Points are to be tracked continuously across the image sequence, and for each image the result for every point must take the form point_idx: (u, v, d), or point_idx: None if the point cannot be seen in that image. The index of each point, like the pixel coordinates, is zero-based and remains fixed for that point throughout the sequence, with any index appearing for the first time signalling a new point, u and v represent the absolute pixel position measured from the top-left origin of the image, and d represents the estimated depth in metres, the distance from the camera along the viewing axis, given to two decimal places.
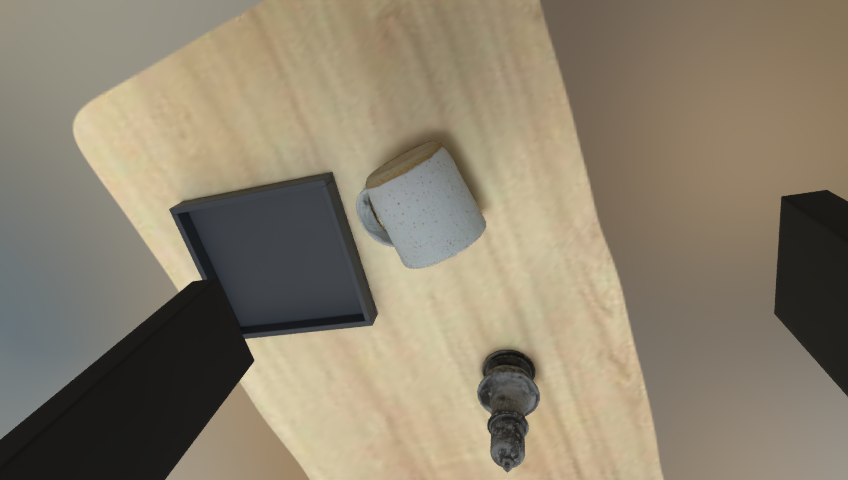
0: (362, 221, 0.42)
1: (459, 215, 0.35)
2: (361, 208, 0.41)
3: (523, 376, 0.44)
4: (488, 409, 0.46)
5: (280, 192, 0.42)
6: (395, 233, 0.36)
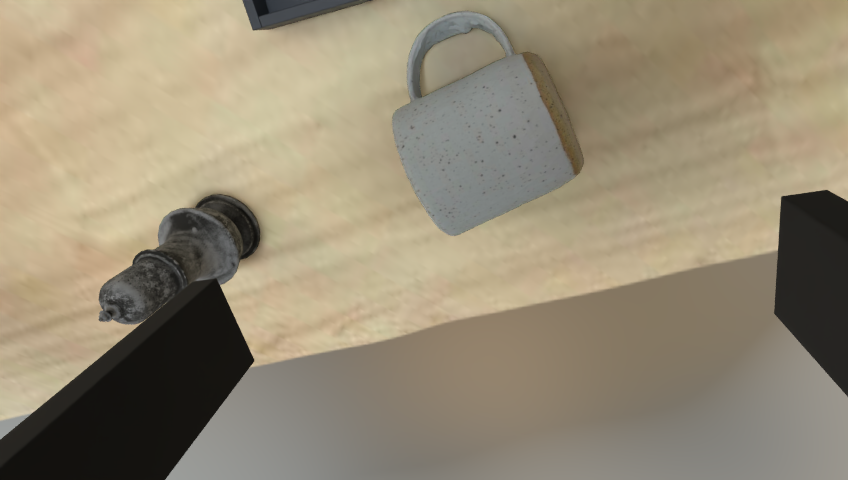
0: (443, 20, 0.25)
1: (487, 215, 0.24)
2: (466, 20, 0.25)
3: (235, 268, 0.32)
4: (164, 223, 0.31)
5: None
6: (458, 122, 0.22)
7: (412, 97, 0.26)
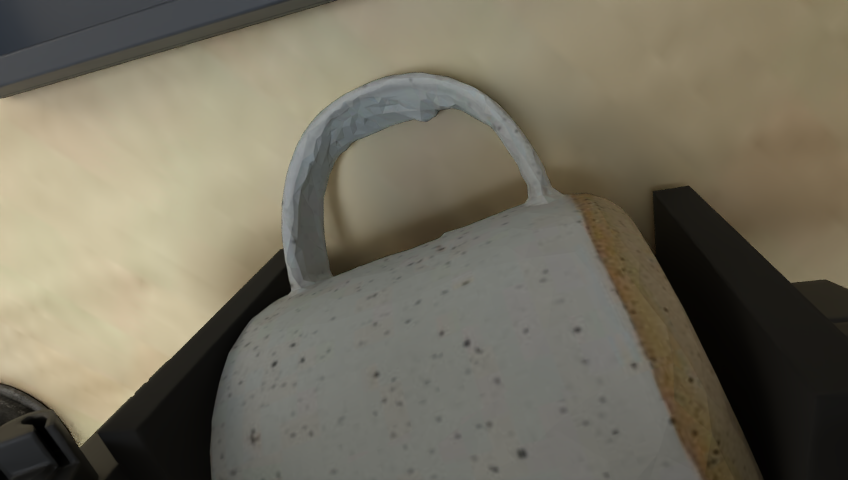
0: (365, 95, 0.10)
1: None
2: (424, 95, 0.10)
3: None
4: None
5: None
6: (383, 460, 0.07)
7: (294, 282, 0.10)
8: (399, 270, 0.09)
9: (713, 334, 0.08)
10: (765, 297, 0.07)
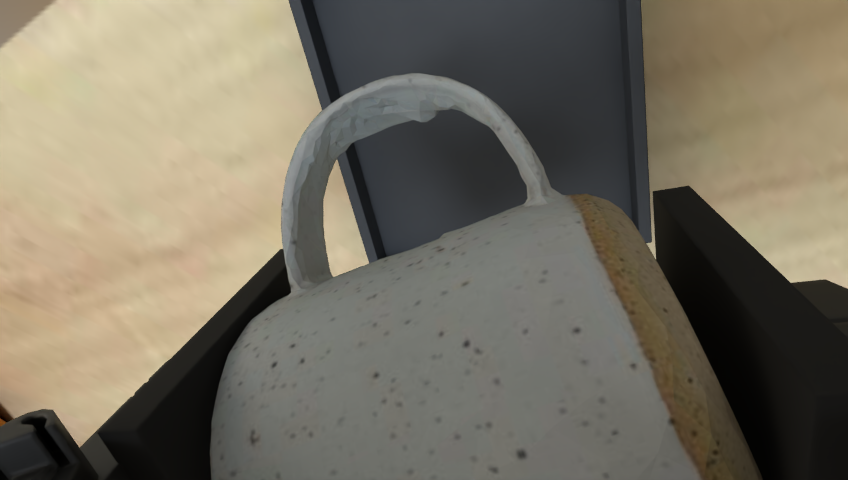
0: (365, 96, 0.10)
1: None
2: (423, 96, 0.10)
3: None
4: None
5: (638, 160, 0.22)
6: (383, 461, 0.07)
7: (294, 283, 0.10)
8: (399, 271, 0.09)
9: (713, 334, 0.08)
10: (765, 297, 0.07)
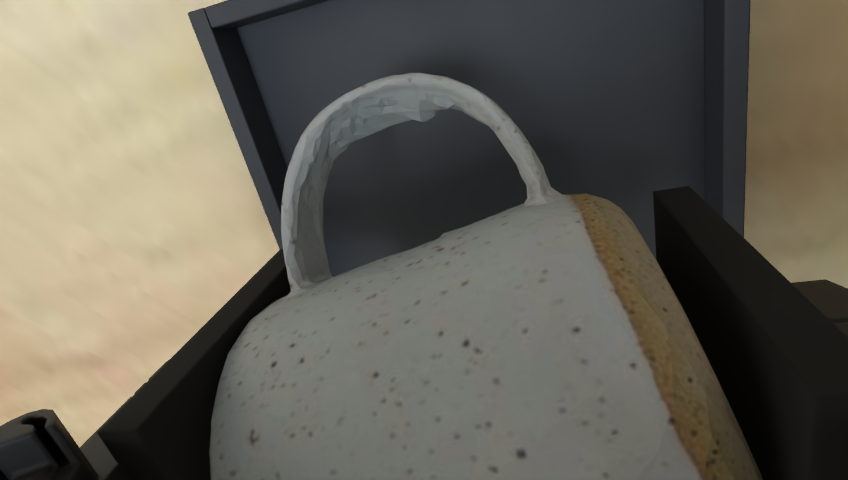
0: (365, 95, 0.10)
1: None
2: (423, 96, 0.10)
3: None
4: None
5: None
6: (382, 461, 0.07)
7: (293, 283, 0.10)
8: (398, 270, 0.09)
9: (714, 334, 0.08)
10: (765, 297, 0.07)
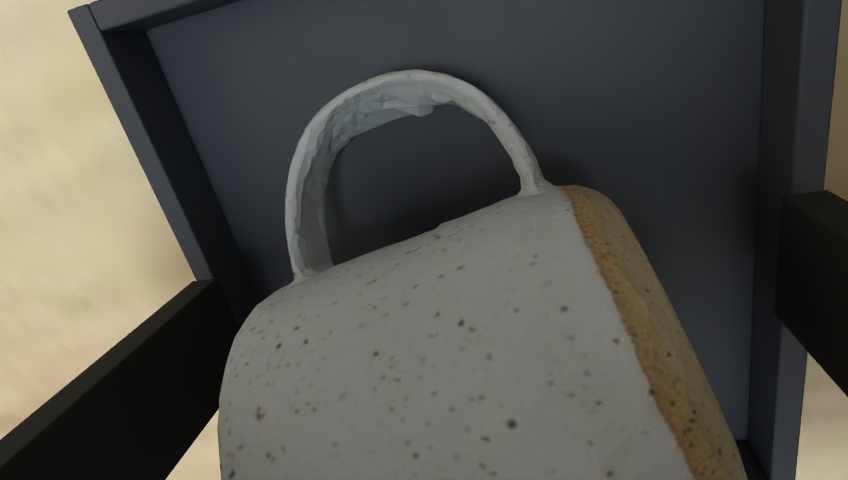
0: (366, 91, 0.10)
1: None
2: (422, 91, 0.10)
3: None
4: None
5: (786, 373, 0.11)
6: (382, 433, 0.07)
7: (297, 271, 0.11)
8: (398, 257, 0.09)
9: None
10: None
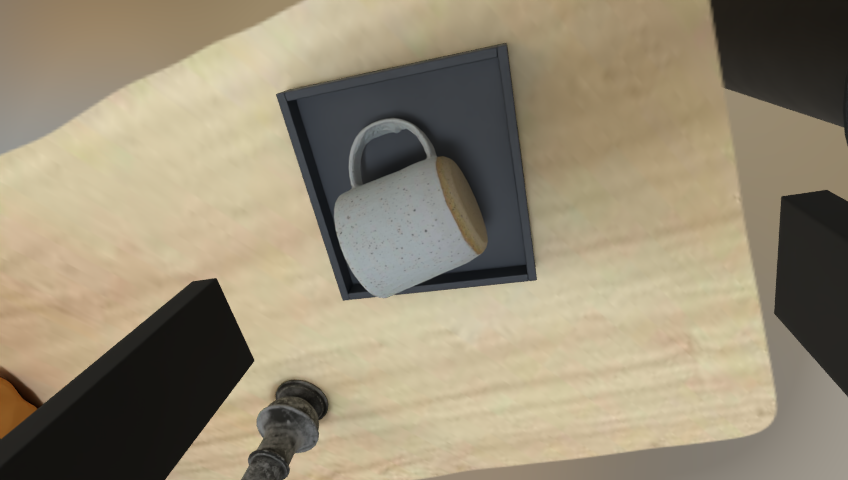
0: (377, 124, 0.31)
1: (410, 284, 0.30)
2: (396, 125, 0.31)
3: (315, 443, 0.43)
4: (263, 413, 0.42)
5: (523, 226, 0.33)
6: (383, 216, 0.28)
7: (352, 185, 0.32)
8: (387, 177, 0.30)
9: None
10: None
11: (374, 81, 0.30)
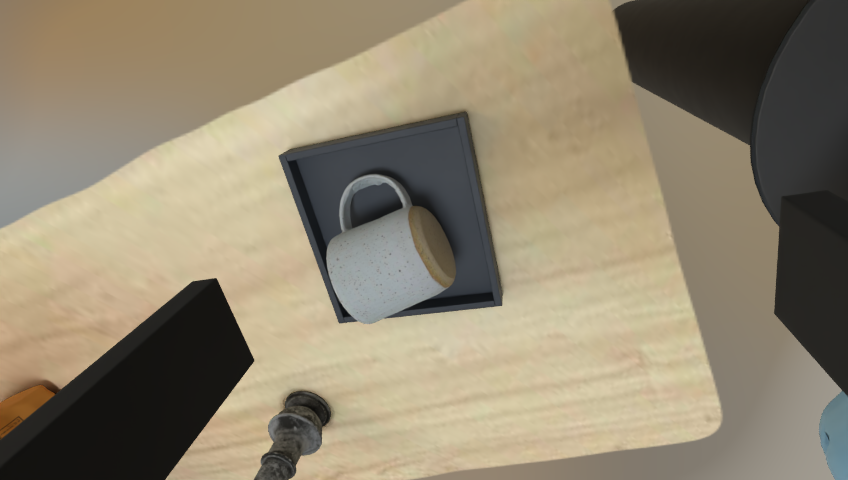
0: (362, 179, 0.37)
1: (390, 313, 0.36)
2: (377, 180, 0.37)
3: (319, 447, 0.49)
4: (274, 420, 0.48)
5: (487, 261, 0.38)
6: (365, 259, 0.34)
7: (343, 229, 0.38)
8: (370, 224, 0.36)
9: None
10: None
11: (358, 145, 0.36)
